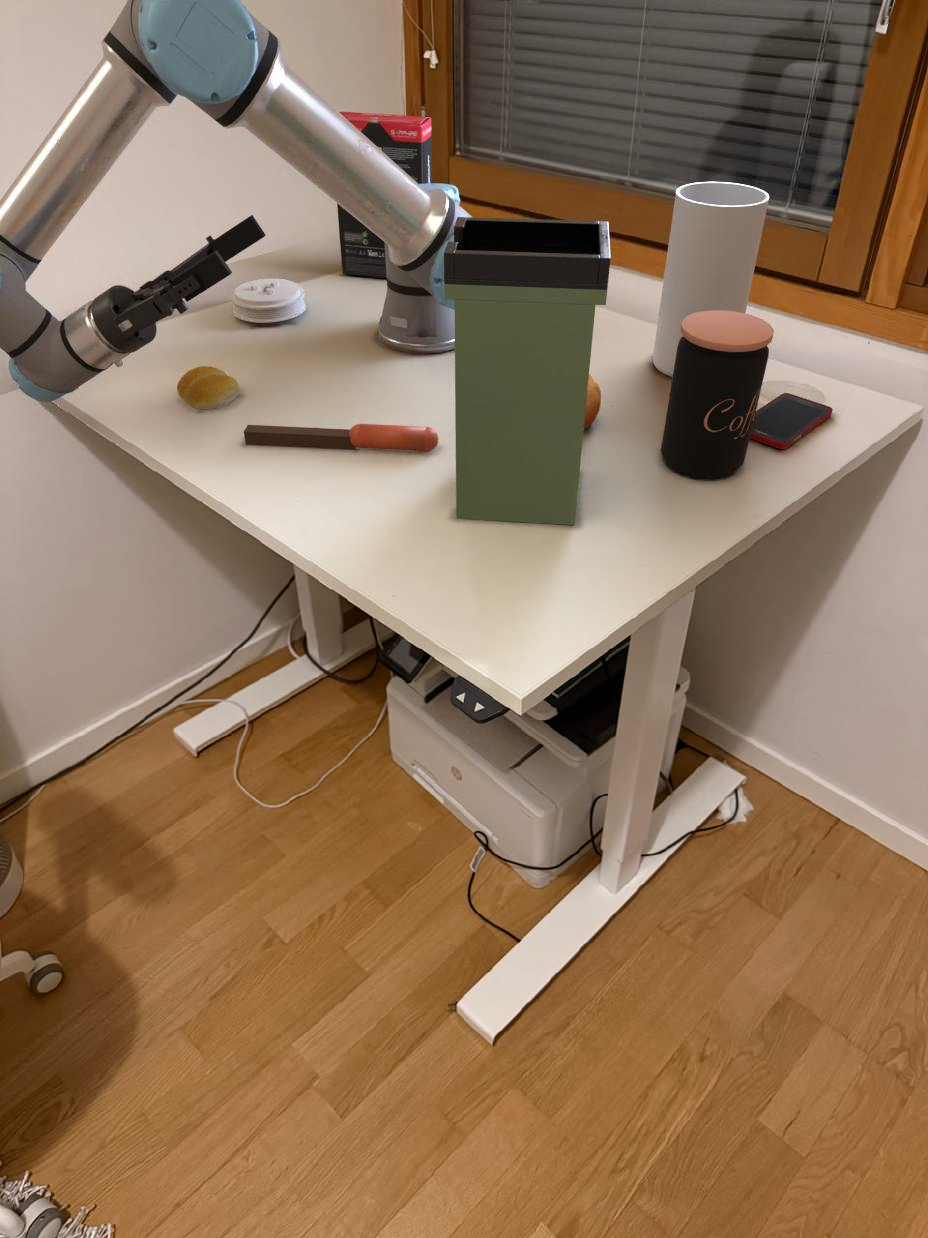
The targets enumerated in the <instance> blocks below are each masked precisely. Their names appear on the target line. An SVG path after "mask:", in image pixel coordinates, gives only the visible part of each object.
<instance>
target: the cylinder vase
mask: <svg viewBox="0 0 928 1238" xmlns="http://www.w3.org/2000/svg"><path fill="white" fill-rule="evenodd" d="M769 200H770V195H769V193H768V192H766V191H765V190H763V189H760V188H758V187H755V186H751V185H747V184H742V183H735V182H725V181H703V182H702V181H701V182H693V183H688V184H684V185H681V186H680V187H678V188H677V189H676V190H675V198H674V202H673V203H674V204H673V210H672V218H671V225H670V226H671V227H670V232H669V239H668V246H667V254H666V260H665V267H664V276H663V282H662V288H661V289H662V290H661V295H660V303H659V310H658V318H657V323H656V331H655V337H654V346H653V353H652V363H653V365H654V366H655V368H656V369H657V370H658V371H659V372H661V373H662V374H664V375H665V376H668V377H670V378H672V377H673V371H674V365H675V358H676V352H677V346H678V343H679V340H680V338H681V337H682V336H683V335H682V333H681V324H682V321H683V319H684V318H686V317H687V316H688V315H691V314H694V313H697V312H702V311H710V310H725V311H735V312H741V313H745V314H746V313H747V307H748V302H749V299H750V298H749V297H750V292H751V288H752V283H753V279H754V273H755V267H756V263H757V259H758V253H759V249H760V245H761V239H762V234H763V230H764V224H765V221H766V215H767V210H768V207H769V206H768V205H769V202H770V201H769Z"/></svg>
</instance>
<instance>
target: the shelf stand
mask: <svg viewBox="0 0 928 1238" xmlns="http://www.w3.org/2000/svg"><path fill="white" fill-rule="evenodd" d="M607 296H608V289H607V290H598V289H570V288H542V287H515V286H487V285H460V284H444V298H445V299H455V300H454V306H455V349H454V407H455V409H454V413H455V415H454V417H455V419H454V420H455V421H454V422H455V423H454V425H455V427H454V428H455V431H454V432H455V513H456V514H455V518H456V519H460V520H461V519H463V520H478V521H495V522H496V521H497V522H498V521H499V522H510V523H511V522H512V523H529V524H530V523H531V524H544V525H562V526H575V525H576V524H575V523H576V514H577V503H578V493H579V483H580V473H581V472H580V471H581V464H582V463H581V461H582V453H583V452H582V451H583V441H584V430H585V428H584V421H585V410H586V400H587V389H588V379H589V374H590V367H591V357H592V347H593V346H592V345H593V335H594V325H595V316H596V306H606V305H607V298H608V297H607Z"/></svg>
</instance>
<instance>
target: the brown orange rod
mask: <svg viewBox="0 0 928 1238" xmlns="http://www.w3.org/2000/svg"><path fill="white" fill-rule="evenodd" d="M243 437H244V441H245V446H260V447H261V446H263V447H281V448H282V447H283V448H303V449H304V448H305V449H322V450H323V449H326V450H344V451H345V450H346V451H347V450H349V451H356V450H357V449H364V450H365V449H367V450H386V451H387V450H388V451H409V452H431V451H434V449H435V448H436V447H437V446H438V443H439V439H440V437H439V434H438V432H437V431H436V430H435V429H434V428H432V427H430V426H420V425H401V424H400V425H397V424H376V423H375V424H374V423H357V424H355V425H353V426H351V427H350V428H349V429H347V428H329V427H328V428H325V427H304V426H283V425H263V424H247V425H246V427H245V428H244V430H243Z"/></svg>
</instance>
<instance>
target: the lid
mask: <svg viewBox="0 0 928 1238" xmlns="http://www.w3.org/2000/svg"><path fill="white" fill-rule="evenodd" d="M304 297H305V289H304V288H303V287H302V286H300V285H299V284H298V283H296V282H294V281H292V280H289V279H283V278H260V279H255V280H250V281H246V282H244V283H241V284H240V285H238V286H237V287H236V288H235V289H234V290H233V291H232V292H231V293H230V295H229V298H230V301H231V303H232V306H233V308H232V314H233V315H234V317H236V319H239V320H242V321H245V322H250V323H261V324H265V323H267V324H268V323H276V322H283V321H287V320H290V319H291V320H292V319H294V318H296V317H299V316H300V315H302V314H303V313H304V312H305V311H306V309H307V305H306V304H307V303H306V302H305V298H304Z"/></svg>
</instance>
